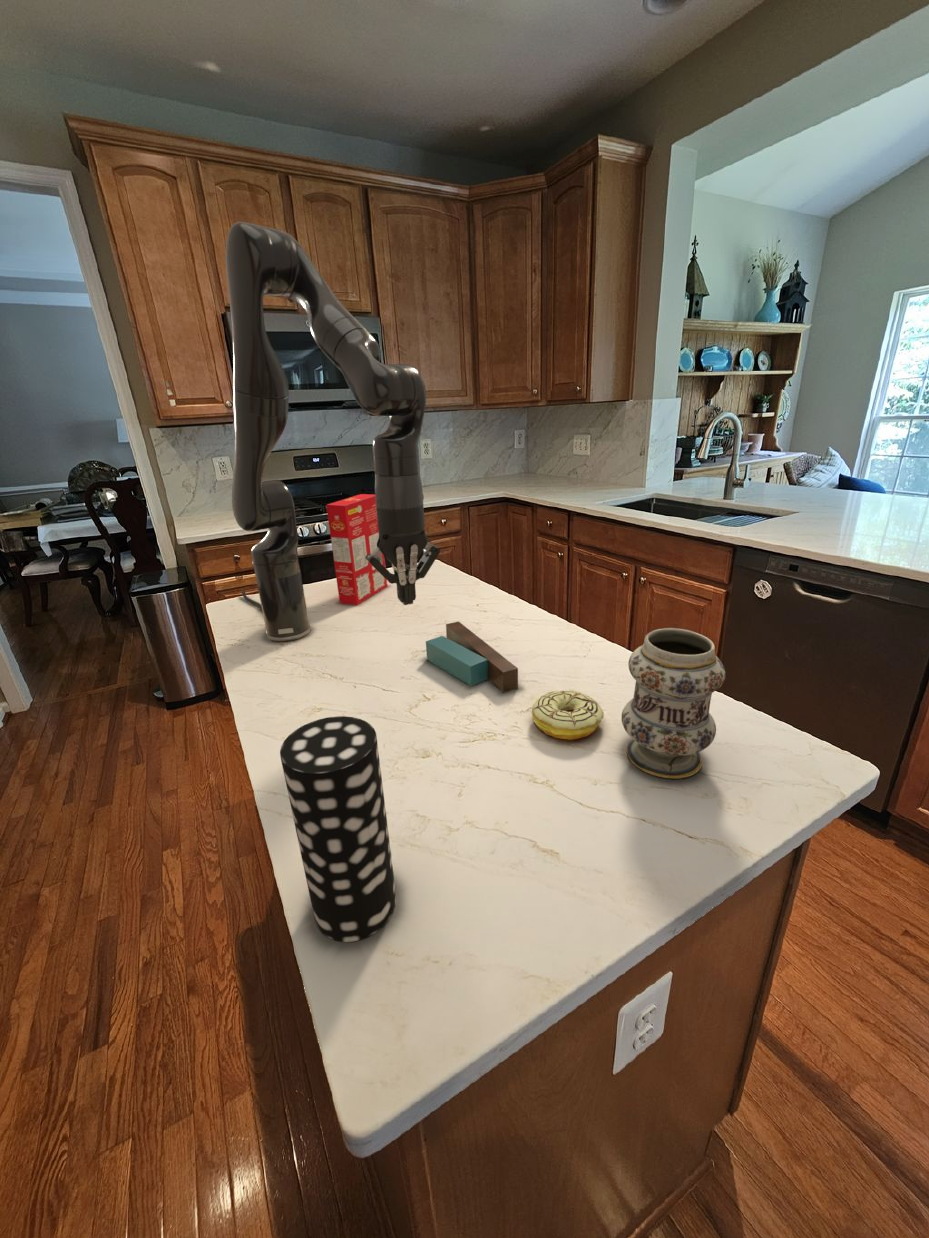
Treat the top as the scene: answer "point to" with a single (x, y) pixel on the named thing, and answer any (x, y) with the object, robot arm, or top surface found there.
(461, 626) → the walnut rail
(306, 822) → the spotted tube
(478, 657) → the teal bar
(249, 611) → the top surface
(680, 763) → the apothecary jar
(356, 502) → the food packaging
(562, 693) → the decorated donut
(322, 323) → the robot arm
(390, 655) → the top surface
